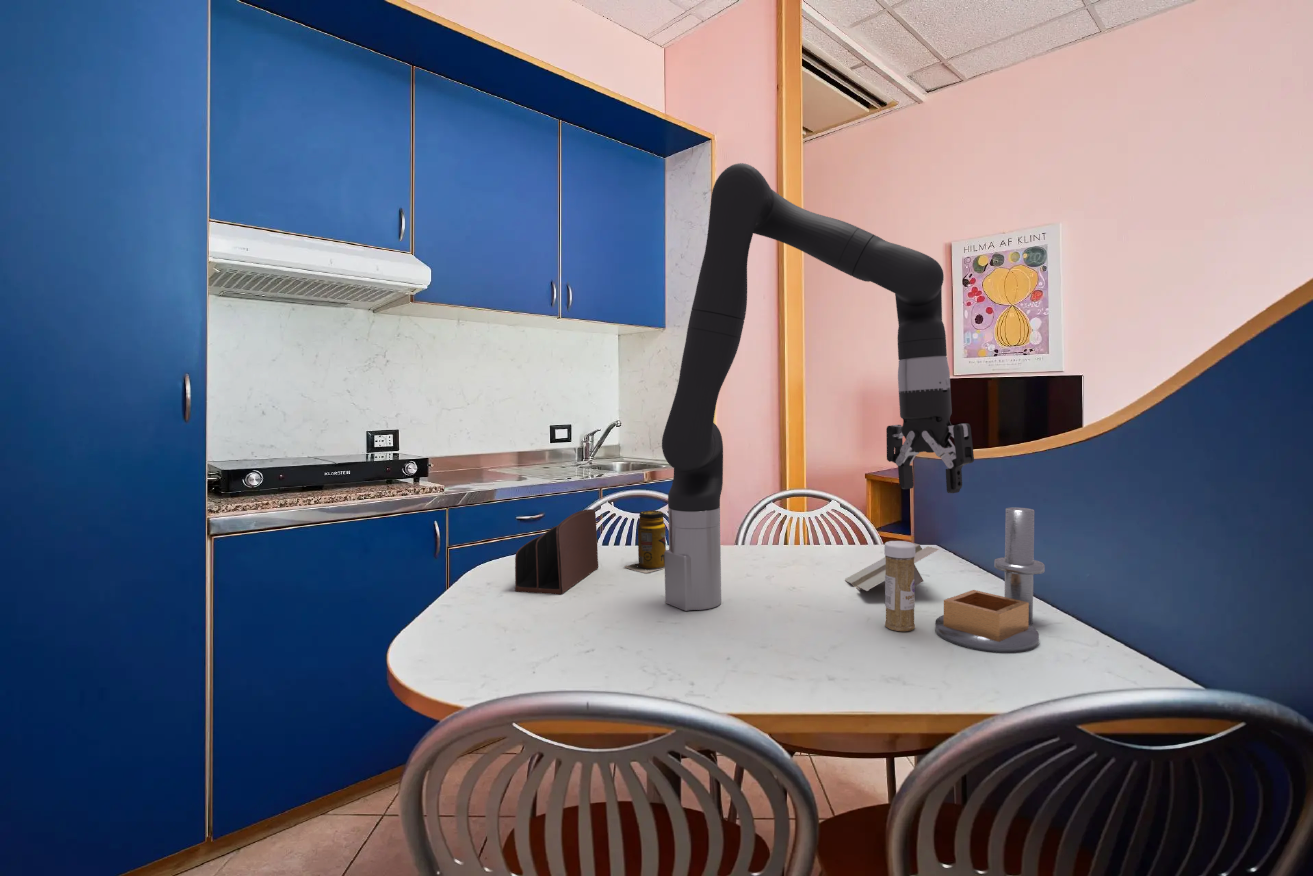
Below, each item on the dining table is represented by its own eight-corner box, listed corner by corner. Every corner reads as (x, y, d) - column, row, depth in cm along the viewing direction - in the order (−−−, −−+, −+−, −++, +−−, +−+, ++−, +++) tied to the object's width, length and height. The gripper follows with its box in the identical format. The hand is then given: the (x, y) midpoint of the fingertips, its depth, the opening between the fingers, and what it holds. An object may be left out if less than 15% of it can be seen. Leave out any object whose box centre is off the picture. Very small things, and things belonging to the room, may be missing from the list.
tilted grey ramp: (900, 628, 116) (963, 570, 116) (865, 590, 116) (927, 532, 117) (874, 613, 132) (929, 561, 132) (843, 579, 133) (897, 528, 133)
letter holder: (598, 569, 145) (597, 504, 144) (562, 596, 126) (560, 522, 125) (556, 566, 147) (554, 503, 147) (514, 592, 128) (512, 520, 127)
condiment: (674, 566, 145) (673, 511, 145) (646, 574, 140) (645, 517, 139) (651, 560, 151) (650, 508, 150) (623, 568, 145) (622, 513, 144)
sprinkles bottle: (916, 633, 102) (916, 546, 101) (884, 631, 103) (884, 545, 102) (914, 623, 106) (914, 540, 105) (883, 621, 108) (884, 539, 107)
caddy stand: (1008, 660, 91) (1010, 530, 90) (916, 632, 102) (917, 516, 101) (1075, 628, 103) (1078, 512, 102) (986, 606, 114) (987, 502, 113)
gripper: (871, 391, 108) (877, 490, 109) (948, 385, 96) (954, 497, 97) (903, 389, 112) (908, 485, 113) (980, 383, 100) (986, 490, 100)
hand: (929, 490), depth 105 cm, fingers open, 8 cm apart
